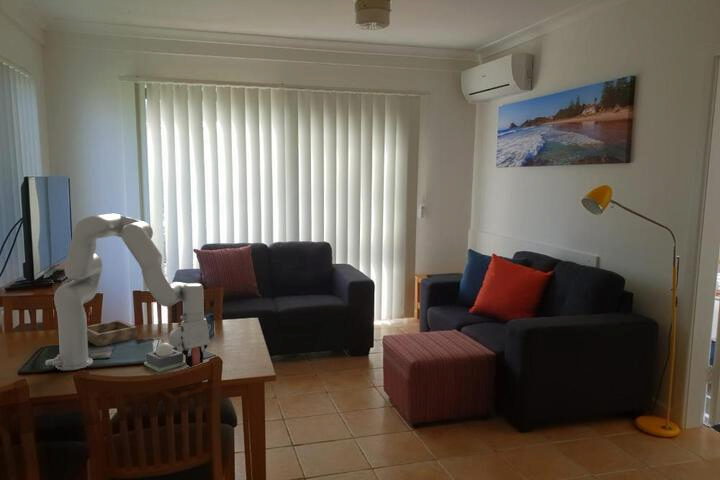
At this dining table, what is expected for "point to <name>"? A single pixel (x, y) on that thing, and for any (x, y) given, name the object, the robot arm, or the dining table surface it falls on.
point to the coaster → (207, 355)
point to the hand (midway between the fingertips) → (194, 363)
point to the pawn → (195, 356)
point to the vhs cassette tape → (210, 323)
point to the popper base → (164, 361)
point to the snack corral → (110, 332)
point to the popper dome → (164, 350)
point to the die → (175, 337)
